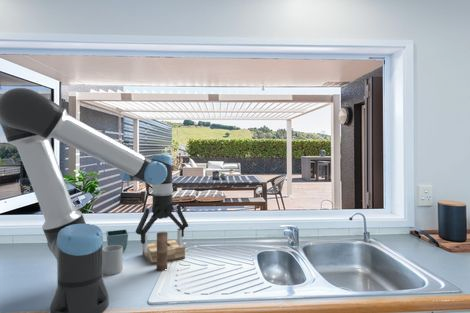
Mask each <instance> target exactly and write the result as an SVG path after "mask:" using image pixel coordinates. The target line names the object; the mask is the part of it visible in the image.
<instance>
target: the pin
mask: <svg viewBox="0 0 470 313" xmlns="http://www.w3.org/2000/svg"><path fill="white" fill-rule="evenodd" d="M167 240H168V232H167V231H159V232H157V233H156V241H157V264H156V271H158V272H163V271H162V270H165V269H167V270H168V262H167ZM165 271H166V270H165Z"/></svg>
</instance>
